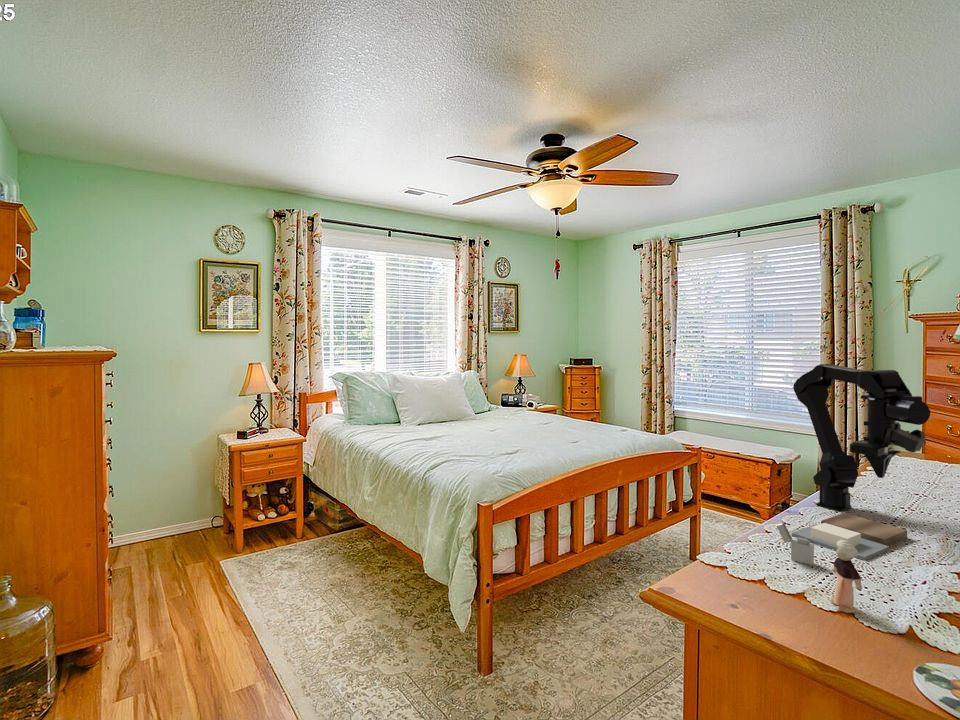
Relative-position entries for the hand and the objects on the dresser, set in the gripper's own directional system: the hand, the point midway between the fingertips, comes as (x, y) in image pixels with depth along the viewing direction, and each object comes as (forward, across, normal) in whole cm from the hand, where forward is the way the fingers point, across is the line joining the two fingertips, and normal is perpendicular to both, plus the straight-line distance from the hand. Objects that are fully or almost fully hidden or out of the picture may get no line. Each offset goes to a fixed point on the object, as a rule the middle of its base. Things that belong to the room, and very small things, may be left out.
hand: (880, 477), depth 128 cm
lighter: (+13, -38, 0) cm, 40 cm away
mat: (+13, -20, 0) cm, 24 cm away
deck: (+13, -8, 0) cm, 16 cm away
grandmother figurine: (+13, -50, -16) cm, 54 cm away
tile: (+12, -21, 0) cm, 24 cm away
